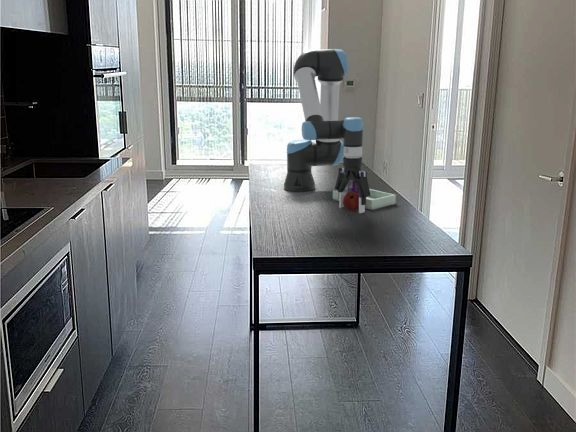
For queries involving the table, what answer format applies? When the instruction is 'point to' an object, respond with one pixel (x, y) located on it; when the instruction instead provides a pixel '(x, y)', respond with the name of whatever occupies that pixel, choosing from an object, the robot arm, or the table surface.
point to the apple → (351, 201)
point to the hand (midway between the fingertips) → (351, 209)
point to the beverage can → (353, 186)
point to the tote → (373, 198)
